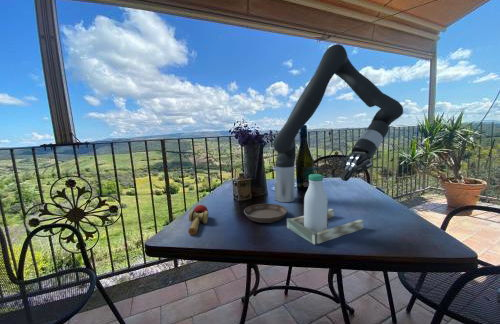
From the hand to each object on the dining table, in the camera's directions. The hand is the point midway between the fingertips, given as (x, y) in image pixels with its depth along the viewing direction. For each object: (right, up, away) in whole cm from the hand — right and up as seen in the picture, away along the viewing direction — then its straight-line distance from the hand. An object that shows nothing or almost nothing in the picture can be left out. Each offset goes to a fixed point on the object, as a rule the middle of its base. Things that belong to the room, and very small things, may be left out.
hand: (343, 179), depth 83 cm
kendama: (-54, -18, +5) cm, 57 cm away
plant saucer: (-28, -16, +11) cm, 34 cm away
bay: (-8, -17, -2) cm, 19 cm away
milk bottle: (-12, -18, -5) cm, 22 cm away
